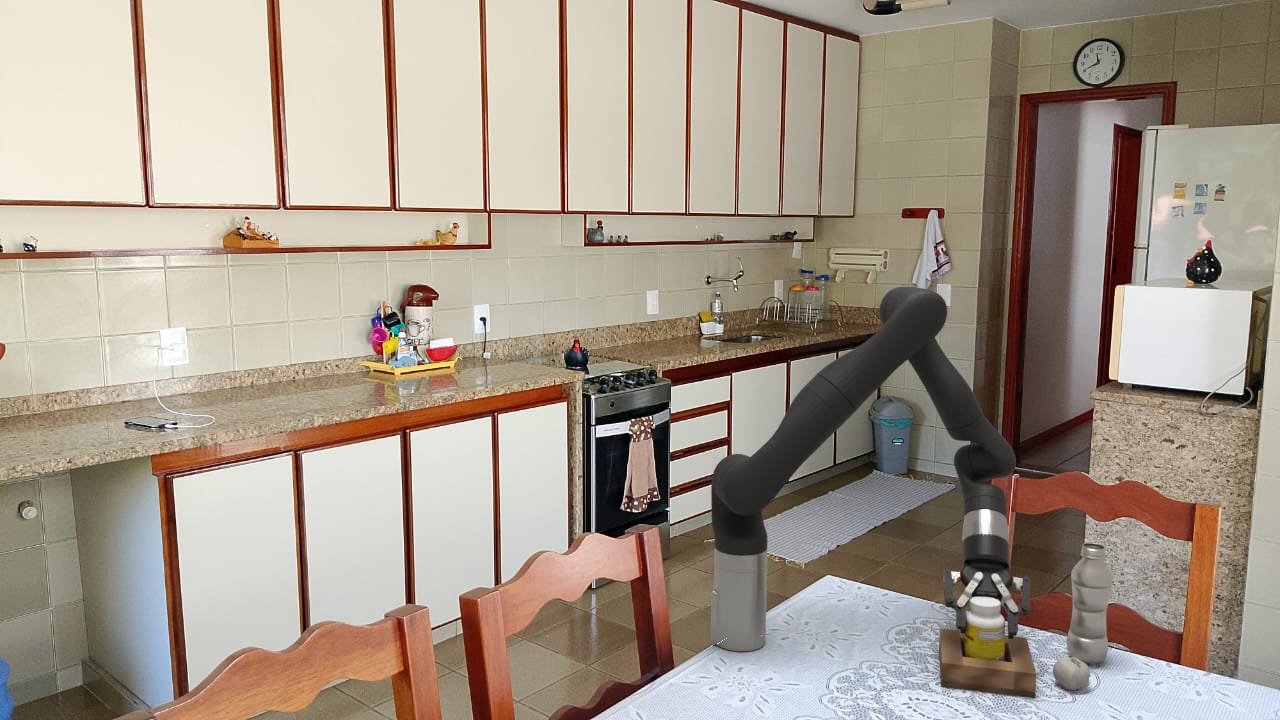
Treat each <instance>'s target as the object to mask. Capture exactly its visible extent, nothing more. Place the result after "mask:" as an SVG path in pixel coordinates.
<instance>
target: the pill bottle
mask: <svg viewBox="0 0 1280 720" xmlns="http://www.w3.org/2000/svg"><path fill="white" fill-rule="evenodd" d="M969 605H970V606H969V607H970V610H969V611H967V612H966V631H965V656H964V657H969V658H977V659H986V660H995V661H1003V662H1004V649H1005V635H1006V619H1005V618H1004V616H1003V615H1002V614H1001V609H1002V608H1001V607H1002V605H1001V603H1000V601H999V600H998V599H995V598H991V597H985V596H978V597H973V598H972V599H971V600H970V603H969Z"/></svg>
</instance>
